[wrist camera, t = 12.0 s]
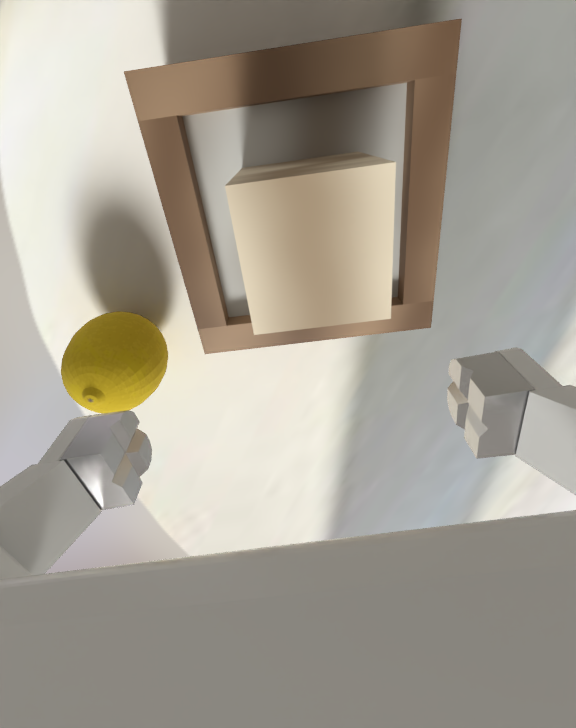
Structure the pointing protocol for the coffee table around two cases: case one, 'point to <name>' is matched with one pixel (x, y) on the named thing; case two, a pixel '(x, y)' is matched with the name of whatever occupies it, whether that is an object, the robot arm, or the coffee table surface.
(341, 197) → the ash block
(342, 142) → the walnut frame
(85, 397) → the lemon
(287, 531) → the coffee table surface
